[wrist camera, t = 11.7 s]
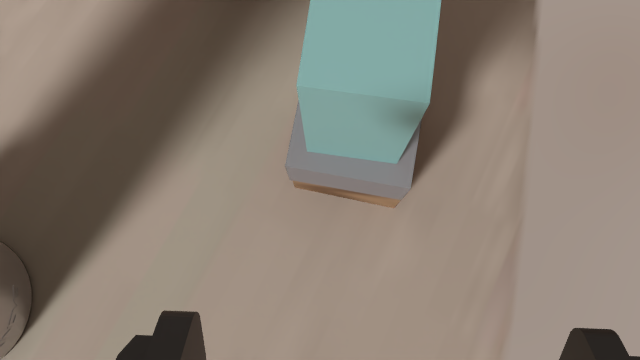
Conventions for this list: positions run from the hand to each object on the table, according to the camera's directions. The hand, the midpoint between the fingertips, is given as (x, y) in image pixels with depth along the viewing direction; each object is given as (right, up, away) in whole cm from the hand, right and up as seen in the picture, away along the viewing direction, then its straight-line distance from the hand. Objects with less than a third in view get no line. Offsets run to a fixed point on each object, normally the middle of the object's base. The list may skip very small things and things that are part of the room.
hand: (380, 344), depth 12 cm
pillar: (+1, +7, +19) cm, 20 cm away
